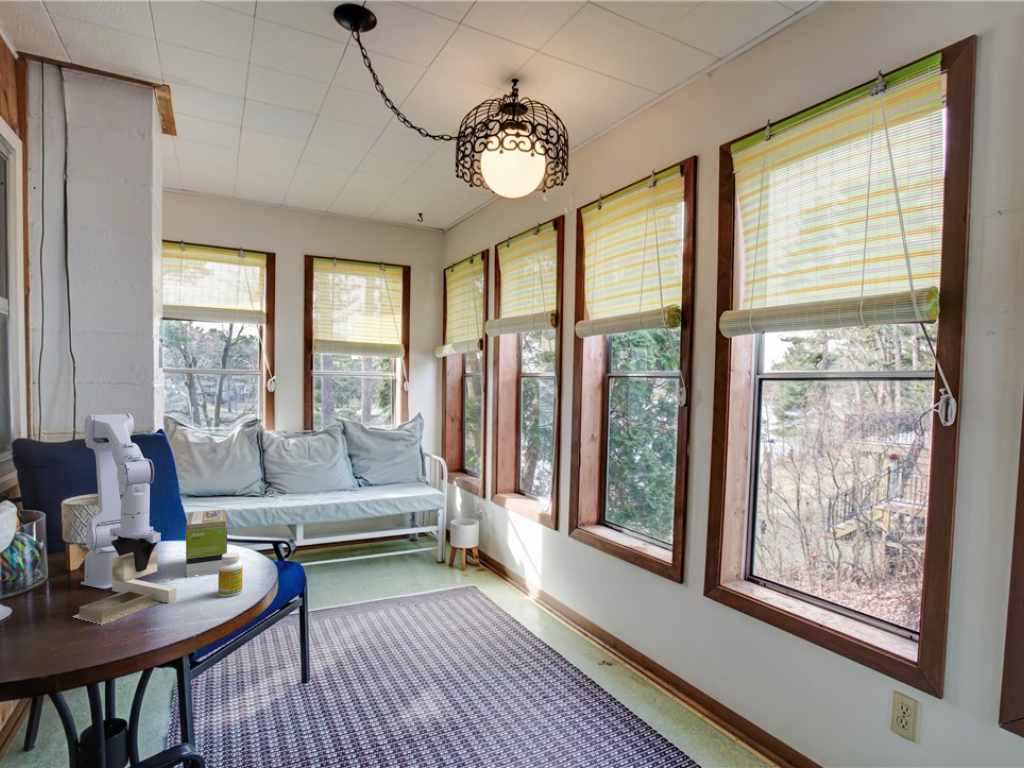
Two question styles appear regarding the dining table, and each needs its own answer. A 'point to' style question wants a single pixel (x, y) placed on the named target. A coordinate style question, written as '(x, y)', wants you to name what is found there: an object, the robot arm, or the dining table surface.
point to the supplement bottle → (230, 575)
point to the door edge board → (146, 589)
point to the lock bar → (131, 567)
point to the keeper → (115, 607)
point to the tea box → (205, 541)
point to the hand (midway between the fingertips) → (134, 569)
